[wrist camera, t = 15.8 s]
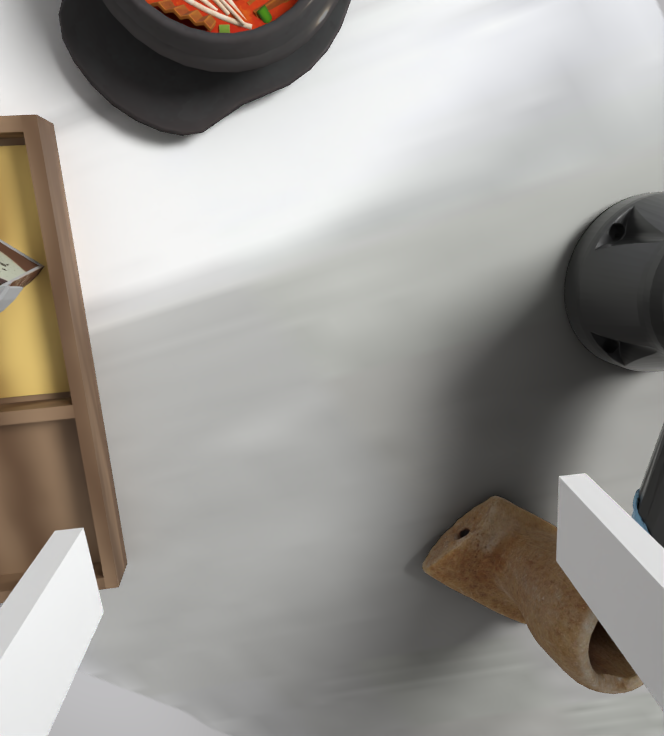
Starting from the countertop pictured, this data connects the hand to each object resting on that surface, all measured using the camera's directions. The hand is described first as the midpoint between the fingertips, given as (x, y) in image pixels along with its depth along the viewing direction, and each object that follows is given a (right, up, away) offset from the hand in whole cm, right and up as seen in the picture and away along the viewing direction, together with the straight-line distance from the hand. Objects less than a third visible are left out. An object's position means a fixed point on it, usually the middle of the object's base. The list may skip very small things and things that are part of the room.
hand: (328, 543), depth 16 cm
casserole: (-8, +33, +25) cm, 42 cm away
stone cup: (+17, -12, +40) cm, 45 cm away
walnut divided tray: (-25, +5, +29) cm, 39 cm away
